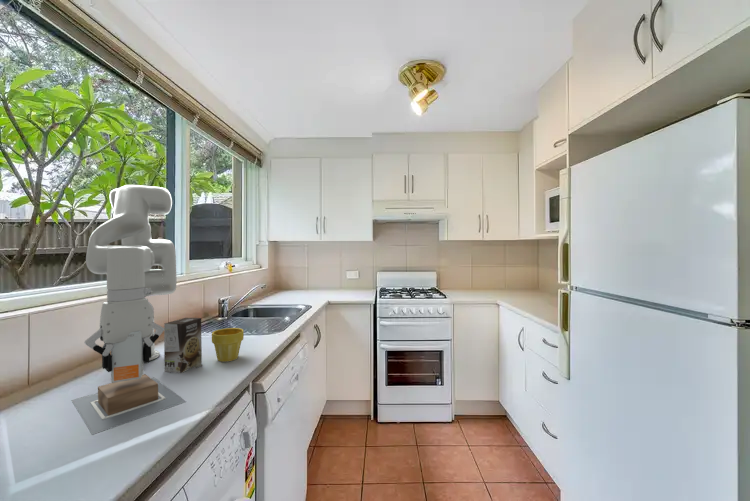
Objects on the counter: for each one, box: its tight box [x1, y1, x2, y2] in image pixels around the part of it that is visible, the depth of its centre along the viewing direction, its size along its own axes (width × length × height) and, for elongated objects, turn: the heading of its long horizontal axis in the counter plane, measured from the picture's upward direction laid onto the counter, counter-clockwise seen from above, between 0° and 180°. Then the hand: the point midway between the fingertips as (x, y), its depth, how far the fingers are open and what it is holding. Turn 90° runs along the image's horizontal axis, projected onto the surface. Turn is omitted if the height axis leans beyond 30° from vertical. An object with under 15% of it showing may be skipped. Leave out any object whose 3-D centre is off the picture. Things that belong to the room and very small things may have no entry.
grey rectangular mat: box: [70, 376, 187, 436], centre depth 81 cm, size 24×18×1 cm
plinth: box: [97, 373, 158, 416], centre depth 81 cm, size 10×10×4 cm
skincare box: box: [110, 331, 145, 383], centre depth 81 cm, size 6×4×12 cm
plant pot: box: [211, 327, 245, 363], centre depth 114 cm, size 10×10×10 cm
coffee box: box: [163, 317, 203, 374], centre depth 104 cm, size 9×6×16 cm
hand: (127, 365), depth 81 cm, fingers closed on skincare box, 7 cm apart
